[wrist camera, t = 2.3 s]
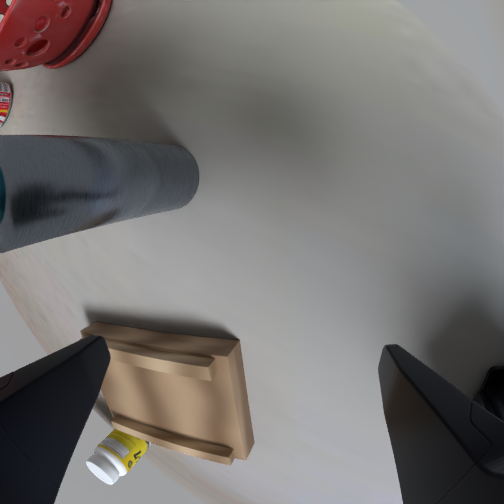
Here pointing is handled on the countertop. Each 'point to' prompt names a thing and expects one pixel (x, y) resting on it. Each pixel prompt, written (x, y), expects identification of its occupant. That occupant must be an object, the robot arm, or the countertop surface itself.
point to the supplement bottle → (116, 455)
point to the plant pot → (48, 31)
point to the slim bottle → (86, 184)
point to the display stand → (177, 391)
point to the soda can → (5, 101)
